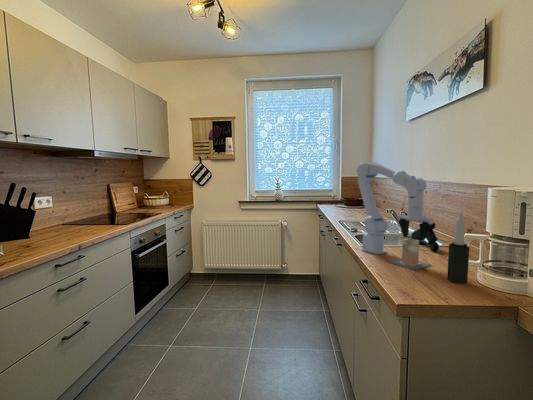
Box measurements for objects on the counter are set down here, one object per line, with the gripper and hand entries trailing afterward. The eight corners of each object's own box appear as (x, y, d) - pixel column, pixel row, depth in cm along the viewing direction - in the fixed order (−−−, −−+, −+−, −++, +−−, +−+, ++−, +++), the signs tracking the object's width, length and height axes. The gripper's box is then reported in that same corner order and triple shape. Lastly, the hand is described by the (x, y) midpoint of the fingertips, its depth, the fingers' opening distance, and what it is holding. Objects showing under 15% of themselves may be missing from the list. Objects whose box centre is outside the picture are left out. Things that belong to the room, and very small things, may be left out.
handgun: (423, 259, 155) (418, 232, 161) (442, 250, 134) (437, 220, 140) (414, 259, 156) (410, 232, 161) (432, 250, 135) (427, 220, 141)
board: (389, 262, 122) (389, 261, 122) (404, 258, 128) (404, 257, 127) (416, 270, 112) (416, 269, 112) (431, 265, 117) (431, 264, 117)
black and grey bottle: (468, 284, 98) (472, 212, 95) (452, 283, 99) (456, 212, 96) (461, 278, 103) (465, 210, 100) (446, 277, 104) (449, 210, 101)
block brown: (401, 262, 120) (402, 250, 120) (407, 260, 123) (408, 249, 122) (412, 265, 117) (412, 253, 116) (418, 263, 119) (418, 251, 118)
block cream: (402, 250, 120) (402, 239, 119) (408, 249, 122) (409, 238, 122) (412, 253, 116) (413, 241, 116) (418, 251, 118) (419, 240, 118)
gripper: (437, 207, 116) (436, 240, 118) (404, 204, 129) (403, 234, 130) (428, 209, 113) (426, 242, 114) (395, 205, 125) (394, 236, 126)
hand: (413, 238), depth 122 cm, fingers open, 7 cm apart
